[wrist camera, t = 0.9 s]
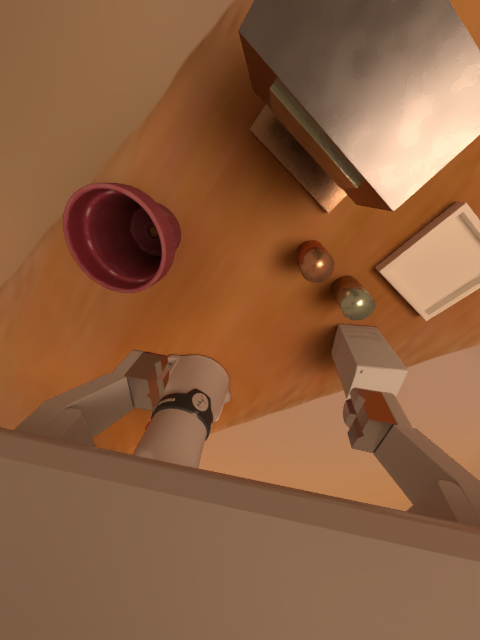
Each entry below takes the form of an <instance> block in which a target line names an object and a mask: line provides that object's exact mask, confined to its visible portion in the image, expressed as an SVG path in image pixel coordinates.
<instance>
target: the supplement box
mask: <svg viewBox="0 0 480 640" xmlns="http://www.w3.org/2000/svg"><path fill="white" fill-rule="evenodd" d="M331 354H332V357H333V360H334V363H335V366H336V369H337V372H338V375H339V378H340V380H341V383H342V386H343V389H344V392H345V395H346V398H347V399H350V398H351V397H350V394H349V393H350V391H351V389H353V388H354V387H355V388H362V389H368V390H374V391H381V392H388V393H392V394H393V395H395V397H396V395H397V393H398V391H399V389H400V387H401V385H402V383H403V381H404V379H405V377H406V375H407V373H408V369H407V368H406V367H405V365H404V364H403V363H402V361H401V360H400V359H399V357H398V356H397V354H396V353H395V352H394V350H393V349H392V348H391V346H390V345H389V344H388V342H387V341H386V340H385V338H384V337H383V335H382V334H381V333H380V331H379V330H378V329H377V327H370V326H357V325H343V324H338V328H337V332H336V335H335V339H334V344H333V348H332V352H331Z"/></svg>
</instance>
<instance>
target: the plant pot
mask: <svg viewBox="0 0 480 640" xmlns="http://www.w3.org/2000/svg"><path fill="white" fill-rule="evenodd" d="M150 227H155V228H156V229H157V232H158V236H157V237H152V236H151V235H150V234H149V228H150ZM63 230H64V236H65V240H66V243H67V246H68V248H69V250H70V252H71V255H72V256H73V258H74V260H75V261H76V263H77V264H78V265H79V267H80V268H81V269H82V270H83V271H84V272H85V273H86V274H87V275H88V276H89V277H90V278H91V279H92V280H94V281H95V282H96V283H98V284H100V285H101V286H103V287H105V288H108V289H110V290H113V291H117V292H122V293H134V292H139V291H142V290H145V289H147V288H149V287H150V286H152V285H153V284H155V283H156V282H158V281H159V280H160V279H162V278H163V277H164V276H165V275H166V274H167V272H168V271H169V269H170V267H171V265H172V263H173V259H174V254H175V251H176V249H177V248H178V246H179V243H180V239H181V231H180V226H179V223H178V221H177V219H176V217H175V216H174V215H173V213H172V212H171V211H170V210H169V209H167V208H166V207H164V206H163V205H161V204H158V203H156V202H155V201H154V200H153V199H152V198H151V197H150V196H148V195H147V194H145V193H144V192H142V191H141V190H139V189H137V188H134V187H132V186H128V185H124V184H117V183H95V184H90V185H87V186H85V187H82V188H81V189H79V190H78V191H76V192H75V193H74V194H73V195H72V196H71V198H70V199H69V201H68V203H67V205H66V207H65V210H64V215H63Z"/></svg>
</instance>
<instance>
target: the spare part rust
mask: <svg viewBox="0 0 480 640" xmlns="http://www.w3.org/2000/svg"><path fill="white" fill-rule="evenodd" d="M297 258H298V262H299V266H300V269H301V273H302V275H303V277H304V278H305V279H306V280H308V281H310V282H315V283H316V282H322V281H324V280H326V279H327V278H328V277H329V276H330V275H331V274H332V272H333V269H334V261H333V259H332V257H331V256H330V254H329V253H328V252H327V251H326V249H325V248H324V247H323V246H322V244H321V243H319V242H317V241H314V240H311V241H307V242H305V243H303V244H302V245H301V246H300V247H299V249H298V252H297Z"/></svg>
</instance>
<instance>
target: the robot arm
mask: <svg viewBox="0 0 480 640" xmlns="http://www.w3.org/2000/svg"><path fill="white" fill-rule="evenodd" d="M170 362H171V363H170ZM228 385H229V379H228V375H227V373H226V371H225V370H224V369H223V367H222V366H221V365H220V364H218V363H217V362H216V361H214V360H212V359H210V358H208V357H205V356H200V355H188V356H179V355H169V356H168V357H167V356H166V355H161V354H155V353H150V352H144V351H139V350H133V351H131V352H130V353H129V354H128V356H127V357H126V358H125V359H124V360H123V361H122V362H121V363H120V364H119V366H118V367H117V368H116V369H115V370H114V371H113V372H112V373H111V374H105V375H103V376H101V377H99V378H96V379H94V380H92V381H90V382H87V383H85V384H83V385H81V386H78V387H76V388H74V389H72V390H69V391H67V392H65V393H63V394H61V395H58V396H56V397H54V398H52V399H49V400H47V401H45V402H44V403H43V404H41V405H40V406H39V407H38V408H37V409H36V410H35V411H34V412H33V413H32V414H31V415H30V416H28V417H27V418H26V419H25V420H24V421H23V422H22V423H21V424H20V425H19V426H18V427H16V428H15V429H14V430H11V429H6V428H1V427H0V640H480V481H479V480H478V479H477V478H475V477H474V476H473V475H472V474H471V473H469V472H468V471H467V470H466V469H464V468H463V467H462V466H461V465H460V464H459V463H457V462H456V461H455V460H454V459H453V458H451V457H450V456H449V455H448V454H446V453H445V452H444V451H443V450H442V449H440V448H439V447H438V446H437V445H435V444H434V443H433V442H432V441H431V440H430V439H428V438H427V437H426V436H425V435H424V434H422V433H421V432H420V431H419V430H417V429H414V428H412V426H411V424H410V422H409V420H408V419H407V417H406V415H405V413H404V411H403V410H402V408H401V406H400V404H399V403H398V401H397V399H396V397H395V395H393V394H392V393H388V392H381V391H374V390H368V389H362V388H355V387H354V388H353V389H351V391H350V393H349V394H350V397H351V398H350V399H348V400H346V402H345V404H344V409H343V418H344V422H345V424H346V425H347V426H348V427H349V428H350V429H349V431H348V437H349V440H350V444H351V447H352V448H353V449H357V450H361V451H366V452H370V453H374V455H375V457H376V458H377V459H378V460H379V462H380V463H381V464H382V466H383V467H384V468H385V469H386V470H387V472H388V473H389V474H390V476H391V477H392V478H393V480H394V481H395V482H396V483H397V485H398V486H399V487H400V488H401V490H402V491H403V492H404V493H405V495H406V496H407V497H408V499H409V500H410V501H411V502H412V504H413V506H412V507H411V508H409V509H408V510H407V511H401V510H396V509H391V508H386V507H381V506H377V505H372V504H367V503H362V502H357V501H353V500H348V499H343V498H338V497H333V496H328V495H324V494H319V493H314V492H309V491H304V490H300V489H294V488H290V487H285V486H280V485H275V484H271V483H266V482H261V481H256V480H251V479H246V478H242V477H237V476H232V475H226V474H222V473H217V472H213V471H207V470H203V469H198V467H199V462H200V458H201V453H202V450H203V445H204V442H205V441H206V439H207V438H208V436H209V433H210V432H211V429H212V423H214V422H215V421H217V420H218V419H219V417H220V414H221V411H222V408H223V405H224V403H226V402H228V401H229V400H230V398H231V395H230V392H229V390H228ZM133 408H140V409H146V410H152V411H153V413H152V417H151V421H150V422H149V423H148V424H147V426H146V427H145V430H146V431H145V433H144V434H143V436H142V438H141V440H140V442H139V443H138V445H137V447H136V449H135V451H134V455H131V454H126V453H121V452H116V451H111V450H107V449H102V448H97V447H96V446H95V443H94V441H93V439H92V438H94V437H95V436H96V435H98V434H99V433H100V432H102V431H103V430H105V429H106V428H107V427H109V426H110V425H112V424H113V423H114V422H116V421H117V420H118V419H120V418H121V417H123V416H124V415H125V414H127V413H128V412H130V411H131V410H132V409H133Z"/></svg>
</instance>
